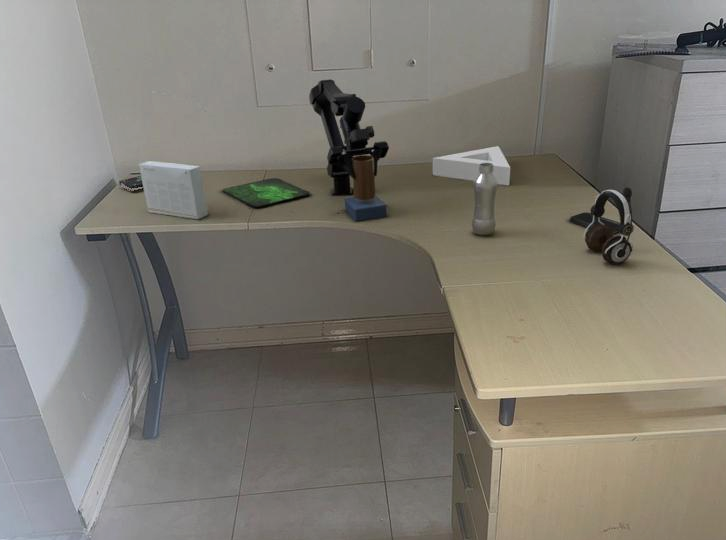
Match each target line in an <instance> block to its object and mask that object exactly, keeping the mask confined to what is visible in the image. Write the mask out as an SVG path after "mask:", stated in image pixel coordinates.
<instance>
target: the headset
mask: <svg viewBox="0 0 726 540" xmlns="http://www.w3.org/2000/svg"><path fill="white" fill-rule="evenodd" d="M632 196H633V191H632V188H630V187H629V186H627V187H624V189H623V191H622V192H620V191H617V190H615V189H605V190H603V191H601V192H600V194H598V195H596V196H595V202H594V204H593V205H592V206H591V207H590V213H591V214H592V215H593V222H592V223H591V224H590V225H589V226H588V227H585V230H584V232H583V238H584V242H585V244H586V245H587V248H588V249H589V250H590V251H592V252H601V254H602V258H603V260H604V261H605V262H606V263H608V264H613V265H619V264H622V263H625V261H627V260H628V258H630V256H631V253H632V252H633V249H634V247H635V246H634V243H633V242H632V241H631V240H630V237H631V234H632V233H634V228H635V227H634V224H633V209H632V205H631V202H632V201H631V197H632ZM609 199H611V200H612V201H613V203H614V204H615V206H616V209H617V212H618V214H619V221H620V222H619V223H620V225H619V227H618V231H619V232H618V233H620V234H621V235H614V234H613V232H612V230H611V228H610V227H609V226H607V225H605V224H603V223H602V222H600V217H603V216H604V215H605V213H606V212H605V211H606V209H605V206H606V204H607V202H608V200H609ZM595 217H598V221H599V223H601V224H596V225H594V226H592V227H591V228H589V227H590V226H591V225H592V224H593V223H594V218H595Z"/></svg>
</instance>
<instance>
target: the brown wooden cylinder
mask: <svg viewBox="0 0 726 540" xmlns="http://www.w3.org/2000/svg"><path fill="white" fill-rule="evenodd" d="M352 167H353V170H354V173H355V179H353V178H352V186H353V197H354V198H355V199H358V200H369V199H373V198H375V195H376V176H375V174H374V157H372V156H370V155H368V154H367V155H359V156H353V158H352Z"/></svg>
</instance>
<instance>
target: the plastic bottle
mask: <svg viewBox="0 0 726 540" xmlns="http://www.w3.org/2000/svg"><path fill="white" fill-rule="evenodd" d="M479 172H480V173H479V175H478V176H477V177H476V178H475V180H474V181H473V182H472V184H473V194H474V211H473V216H472V221H471V229H472V231H473V232H474V234H476V235H480V236H488V235H492V234H493V233H494V232H495V230H496V226H497V225H496V218H495V200H496V194H497V189H498V184H497V180H496V178H495V177H494V175H493V174H492V172H493V164H492V163H481V164H480V167H479Z"/></svg>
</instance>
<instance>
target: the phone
mask: <svg viewBox="0 0 726 540" xmlns="http://www.w3.org/2000/svg"><path fill="white" fill-rule="evenodd" d="M569 222H571V223H573V224H576V225H579V226H581V227H585V228H587V227H588V226H589V225H590V224H591V223H592V222H593V215H592V214H591V212H587V211H586V212H585V211H584V212H581V213H578V214H574V215H572V216H570V217H569ZM600 222H602V223H603V224H605V225H607V226H609V227H610V228H611V230H612V232H613V235H614V234H616V233H620V232H619V231H618V227H619V225H620V222H619V221H615V220H612V219H609V218H608V217H607V218H606V217H603V216H601V217H600ZM596 224H601V223H599V221H598V217H595V218H594V223H593V224H592V225H591V226H590V227H589V228H588V229H590V228H591V227H592V226H594V225H596Z"/></svg>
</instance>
